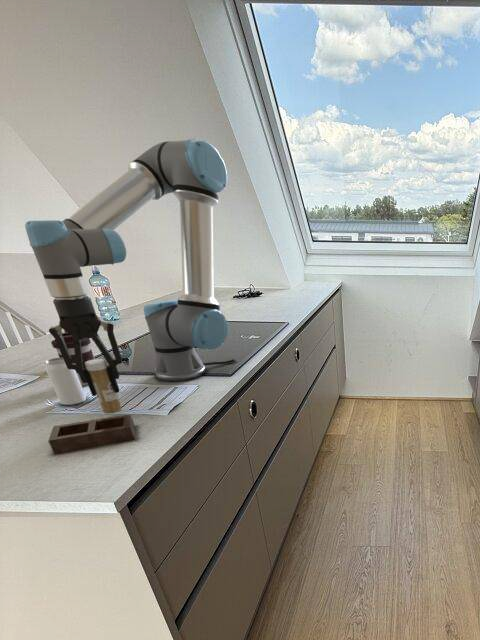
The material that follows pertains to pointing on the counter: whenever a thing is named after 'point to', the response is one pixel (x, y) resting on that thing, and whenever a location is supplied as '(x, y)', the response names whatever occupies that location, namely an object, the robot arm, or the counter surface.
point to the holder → (92, 433)
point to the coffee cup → (69, 343)
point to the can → (65, 382)
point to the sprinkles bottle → (103, 385)
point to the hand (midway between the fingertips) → (106, 392)
